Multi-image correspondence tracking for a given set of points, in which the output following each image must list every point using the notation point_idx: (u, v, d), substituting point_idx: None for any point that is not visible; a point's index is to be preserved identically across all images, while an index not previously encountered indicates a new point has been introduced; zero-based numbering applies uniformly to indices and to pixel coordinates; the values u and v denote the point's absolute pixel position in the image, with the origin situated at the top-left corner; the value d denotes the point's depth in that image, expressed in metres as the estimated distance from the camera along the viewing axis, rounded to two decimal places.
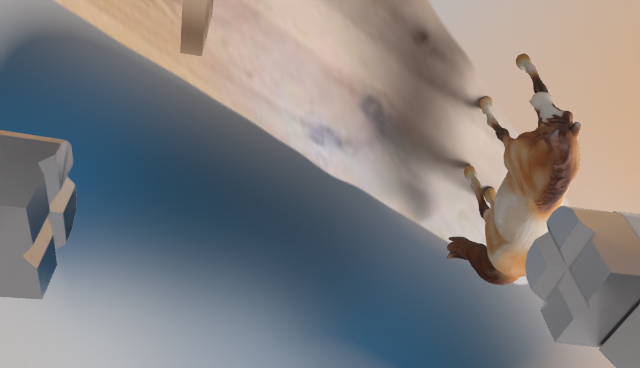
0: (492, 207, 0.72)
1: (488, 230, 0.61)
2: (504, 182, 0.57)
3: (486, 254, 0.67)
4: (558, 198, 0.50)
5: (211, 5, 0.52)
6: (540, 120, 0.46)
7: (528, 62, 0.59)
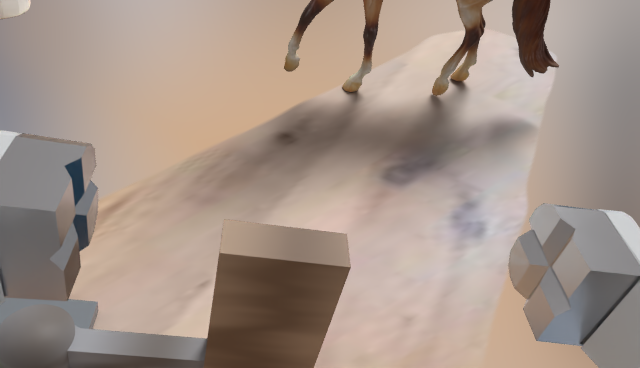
0: (470, 59, 0.60)
1: None
2: None
3: (519, 8, 0.54)
4: None
5: None
6: None
7: (288, 52, 0.54)
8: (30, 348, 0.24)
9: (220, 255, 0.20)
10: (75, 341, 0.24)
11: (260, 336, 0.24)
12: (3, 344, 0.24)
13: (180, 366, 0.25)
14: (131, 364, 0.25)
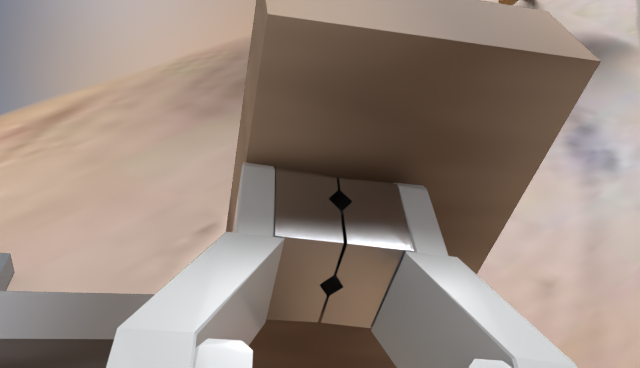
0: None
1: None
2: None
3: None
4: None
5: None
6: None
7: None
8: None
9: (269, 24, 0.07)
10: None
11: None
12: None
13: None
14: (60, 358, 0.12)
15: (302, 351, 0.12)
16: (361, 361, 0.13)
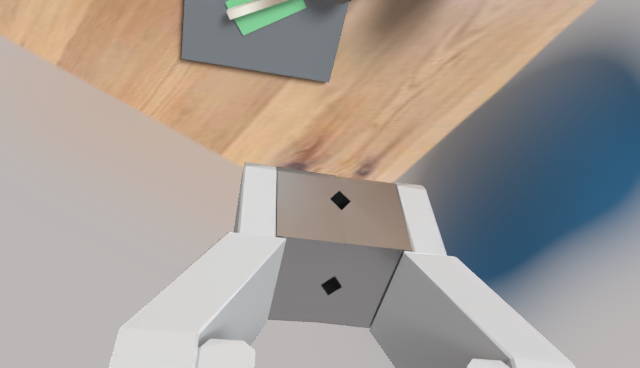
0: None
1: None
2: None
3: None
4: None
5: None
6: None
7: None
8: None
9: None
10: None
11: None
12: None
13: None
14: None
15: None
16: None
